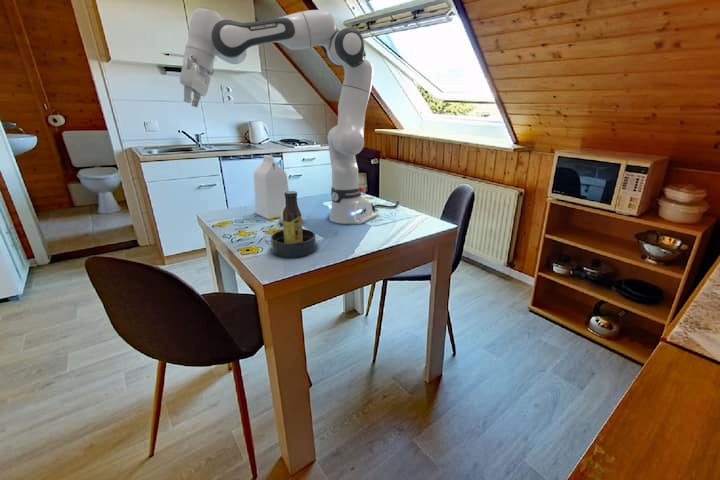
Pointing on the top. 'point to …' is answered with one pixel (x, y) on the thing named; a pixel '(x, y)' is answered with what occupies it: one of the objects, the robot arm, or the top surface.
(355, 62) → the robot arm
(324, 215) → the top surface
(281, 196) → the milk
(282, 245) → the pan
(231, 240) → the top surface
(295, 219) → the sauce bottle
